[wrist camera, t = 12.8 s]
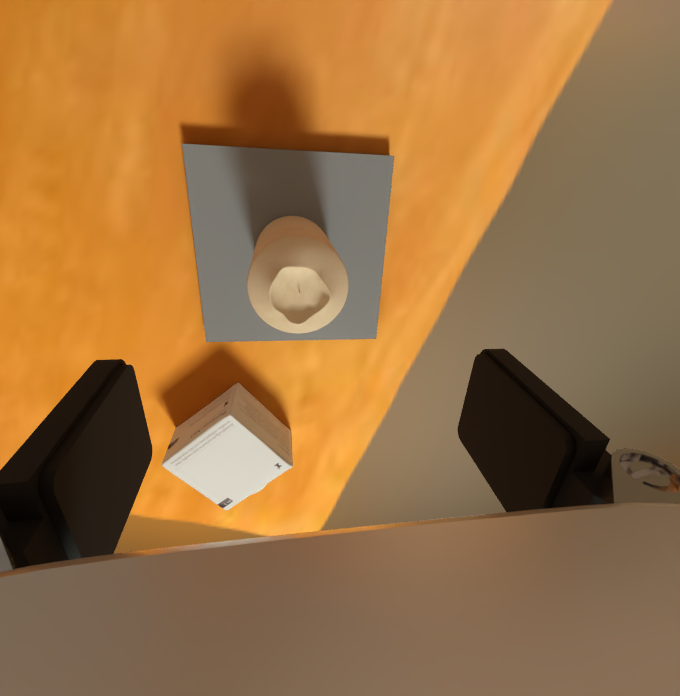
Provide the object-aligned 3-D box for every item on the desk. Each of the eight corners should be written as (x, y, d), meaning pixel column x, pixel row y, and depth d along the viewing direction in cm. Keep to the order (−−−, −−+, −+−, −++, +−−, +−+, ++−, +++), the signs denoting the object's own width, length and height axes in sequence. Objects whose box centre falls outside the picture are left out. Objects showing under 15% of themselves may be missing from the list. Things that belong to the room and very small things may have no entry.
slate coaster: (186, 144, 25) (182, 143, 24) (389, 156, 27) (394, 155, 26) (208, 335, 31) (206, 342, 30) (373, 333, 33) (376, 338, 32)
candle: (336, 222, 27) (363, 251, 19) (323, 293, 30) (341, 349, 21) (259, 208, 26) (250, 231, 17) (252, 283, 28) (240, 338, 20)
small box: (237, 378, 34) (231, 412, 29) (293, 430, 37) (295, 468, 32) (173, 426, 35) (157, 466, 30) (233, 472, 38) (227, 514, 34)
